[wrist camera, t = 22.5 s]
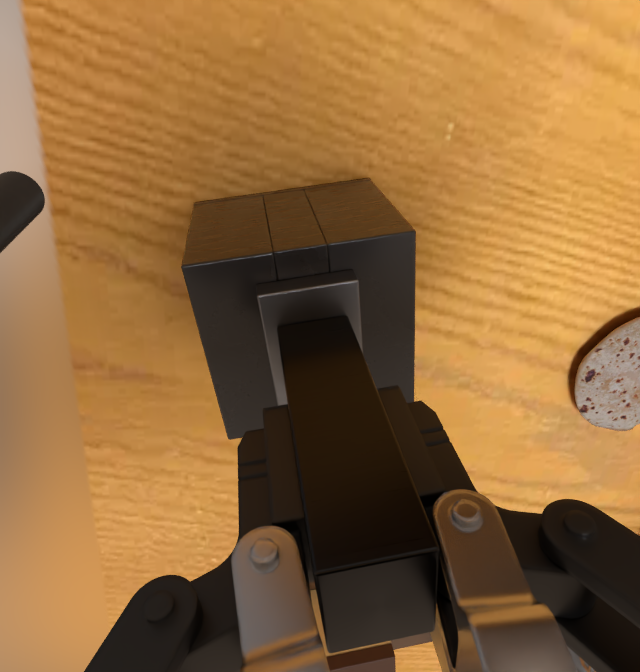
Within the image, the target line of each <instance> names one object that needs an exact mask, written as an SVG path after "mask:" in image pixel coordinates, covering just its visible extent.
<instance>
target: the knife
mask: <svg viewBox="0 0 640 672" xmlns="http://www.w3.org/2000/svg"><path fill="white" fill-rule="evenodd" d="M256 292H257V300H258V305H259V310H260V316H261V321H262V326H263V331H264V337H265V342H266V347H267V352H268V358H269V363H270V368H271V373H272V378H273V384H274V389H275V394H276V399H277V405H278V406H279V405H285V404H288V409H289V416H290V423H291V429H292V436H293V443H294V449H295V456H296V463H297V470H298V476H299V483H300V490H301V496H302V503H303V510H304V517H305V523H306V530H307V537H308V543H309V550H310V557H311V564H312V570H313V576H314V582H315V587H316V593H317V598H318V603H319V609H320V614H321V620H322V625H323V630H324V636H325V641H326V647H327V650H328V652H329V653H335V652H340V651H344V650H349V649H354V648H358V647H363V646H368V645H372V644H377V643H382V642H386V641H391V640H396V639H400V638H405V637H410V636H414V635H419V634H424V633H428V632H433V631H434V630H435V619H436V601H437V584H438V567H439V549H440V548H439V545H438V543H437V540H436V538H435V535H434V533H433V530H432V527H431V525H430V522H429V520H428V517H427V515H426V512H425V510H424V507H423V505H422V502H421V500H420V497H419V495H418V492H417V490H416V487H415V484H414V482H413V479H412V477H411V474H410V472H409V469H408V467H407V464H406V462H405V459H404V457H403V454H402V452H401V449H400V447H399V444H398V441H397V439H396V436H395V434H394V431H393V429H392V426H391V424H390V421H389V419H388V416H387V414H386V411H385V409H384V406H383V404H382V401H381V398H380V396H379V393H378V391H377V388H376V386H375V383H374V381H373V378H372V376H371V373H370V371H369V368H368V366H367V363H366V361H365V358H364V355H363V345H362V329H361V313H360V296H359V281H358V279H357V277H356V275H355V273H354V271H353V270H345V271H339V272H333V273H326V274H320V275H314V276H307V277H301V278H295V279H288V280H282V281H275V282H269V283H263V284H257V285H256Z"/></svg>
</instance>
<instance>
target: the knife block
mask: <svg viewBox="0 0 640 672" xmlns="http://www.w3.org/2000/svg"><path fill="white" fill-rule="evenodd" d="M415 248H416V231H415V230H414V229H413V228H412V226H411V225H410V224H409V223H408V222H407V221H406V220H405V218H404V217H403V216H402V215H401V214H400V213H399V212H398V211H397V209H396V208H395V207H394V206H393V205H392V204H391V203H390V201H389V200H388V199H387V198H386V197H385V196H384V195H383V193H382V192H381V191H380V190H379V189H378V188H377V187H376V186H375V184H374V183H373V182H372V181H371V179H370V178H366V179H359V180H351V181H344V182H337V183H330V184H323V185H316V186H309V187H302V188H295V189H288V190H281V191H274V192H267V193H260V194H252V195H245V196H238V197H231V198H224V199H217V200H210V201H203V202H196V203H194V205H193V211H192V216H191V221H190V226H189V231H188V236H187V241H186V246H185V251H184V256H183V261H182V266H181V268H182V272H183V275H184V279H185V283H186V286H187V290H188V294H189V297H190V301H191V305H192V308H193V312H194V316H195V319H196V323H197V327H198V330H199V334H200V338H201V341H202V345H203V349H204V352H205V356H206V360H207V363H208V367H209V371H210V374H211V378H212V382H213V385H214V389H215V393H216V396H217V400H218V404H219V407H220V411H221V415H222V418H223V422H224V426H225V429H226V433H227V437H228V439H229V440H231V439H236V438H242V437H243V436H244V434H245V432H246V431H251V430H257V429H263V428H264V422H263V408H268V407H273V406H278V405H277V399H276V394H275V389H274V384H273V378H272V373H271V368H270V363H269V358H268V352H267V347H266V342H265V337H264V331H263V326H262V321H261V316H260V310H259V305H258V300H257V292H256V285H257V284H263V283H269V282H275V281H282V280H288V279H295V278H301V277H307V276H314V275H320V274H326V273H333V272H339V271H345V270H353V271H354V273H355V275H356V277H357V279H358V281H359V296H360V313H361V329H362V345H363V355H364V358H365V361H366V363H367V366H368V368H369V371H370V373H371V376H372V378H373V381H374V383H375V386H376V388H377V389H378V388H384V387H389V386H395V385H398V386H399V387H400V389H401V391H402V394H403V396H404V398H405V400H406V402H407V403H411V402H414V353H415Z"/></svg>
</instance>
